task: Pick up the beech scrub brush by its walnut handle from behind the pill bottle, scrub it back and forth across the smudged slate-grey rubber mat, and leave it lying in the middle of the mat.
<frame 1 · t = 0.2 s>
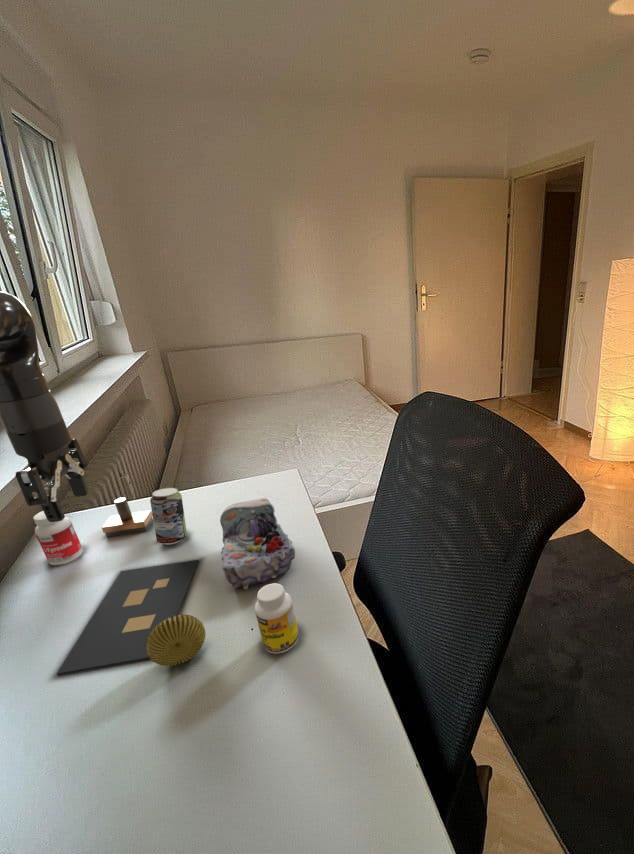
hand: (70, 507, 78), 18 cm above the table, tool pointing down, fingers open, 8 cm apart
supplement bottle: (282, 642, 71), on the table
beverage can: (176, 539, 99), on the table
mat: (139, 610, 79), on the table
cell model: (257, 562, 90), on the table
brush: (130, 529, 104), on the table
sculpture: (184, 659, 69), on the table
pill bottle: (67, 557, 95), on the table
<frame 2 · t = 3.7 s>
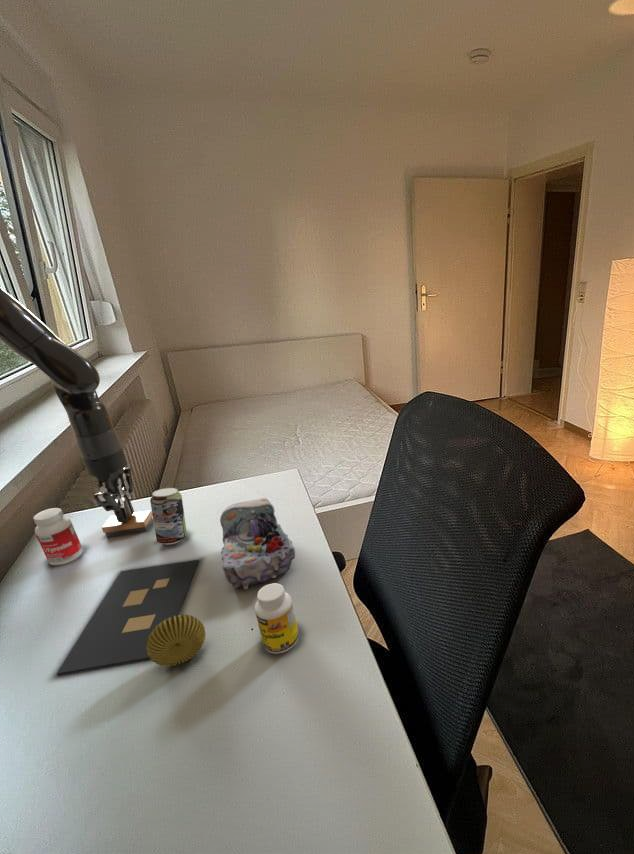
hand: (126, 517, 102), 3 cm above the table, tool pointing down, fingers closed on brush, 2 cm apart
brush: (130, 529, 104), on the table, touching gripper
everything else where it was.
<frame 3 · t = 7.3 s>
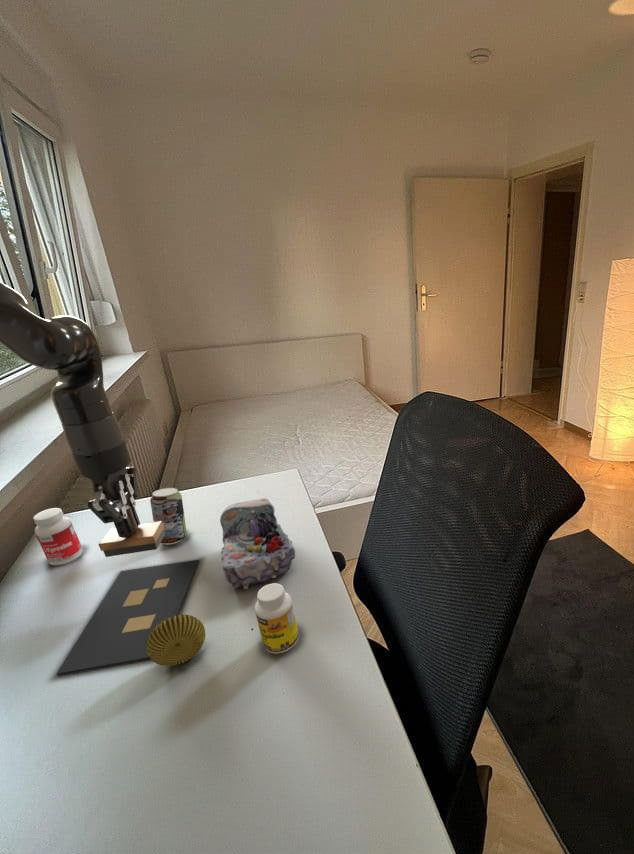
hand: (130, 530, 79), 13 cm above the table, tool pointing down, fingers closed on brush, 2 cm apart
brush: (136, 545, 81), point 10 cm above the table, touching gripper
everything else where it was.
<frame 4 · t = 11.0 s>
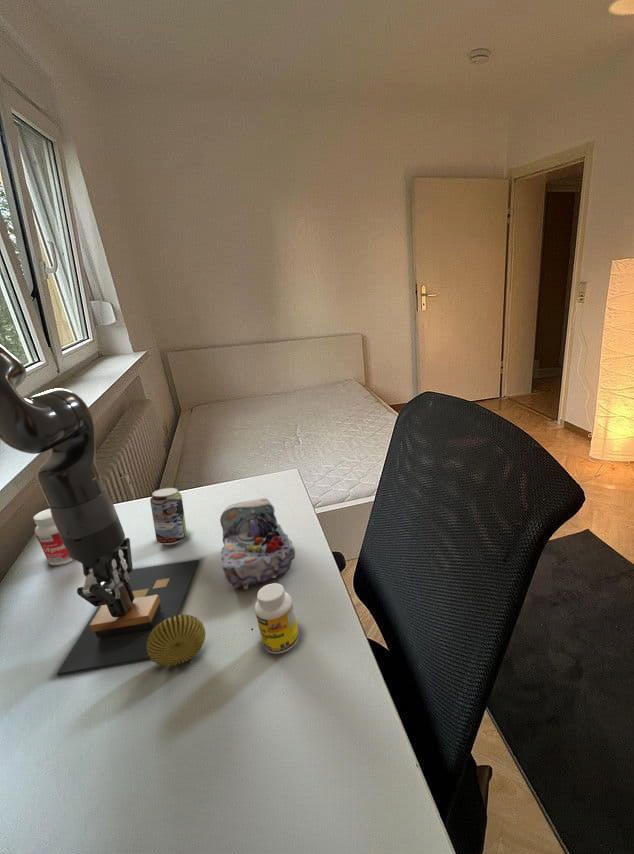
hand: (123, 608, 74), 4 cm above the table, tool pointing down, fingers closed on brush, 2 cm apart
brush: (130, 622, 75), point 1 cm above the table, touching gripper
everything else where it was.
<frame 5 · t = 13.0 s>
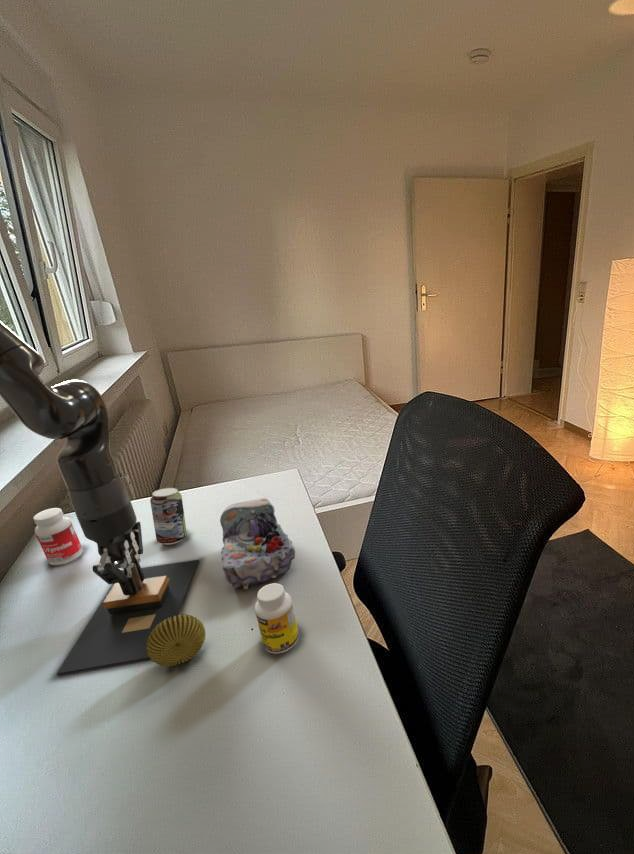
hand: (134, 587, 79), 4 cm above the table, tool pointing down, fingers closed on brush, 2 cm apart
brush: (140, 601, 80), point 1 cm above the table, touching gripper
everything else where it was.
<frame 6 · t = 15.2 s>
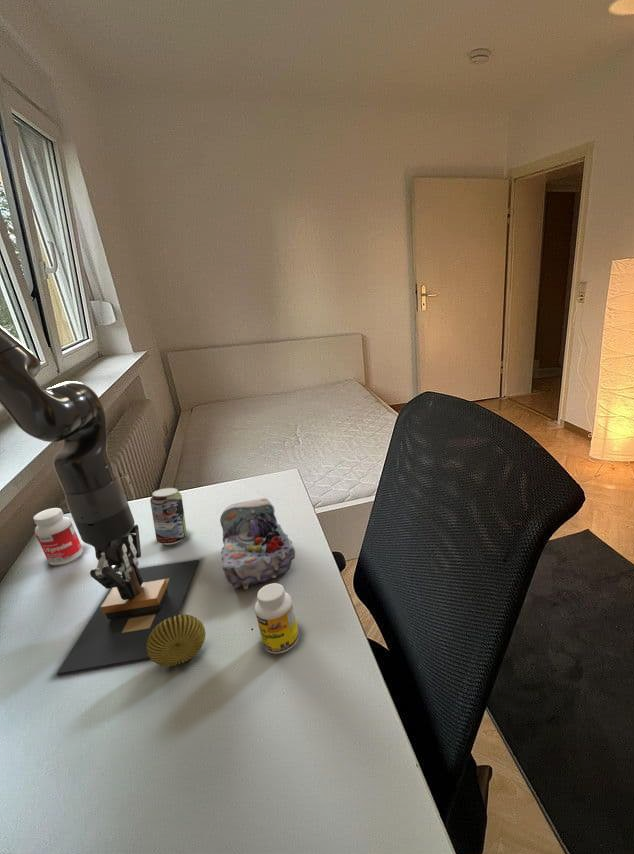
hand: (132, 591, 78), 4 cm above the table, tool pointing down, fingers closed on brush, 2 cm apart
brush: (139, 605, 79), point 1 cm above the table, touching gripper
everything else where it was.
when the fingers open (4 cm above the table, at t = 18.3 s): brush stays where it is, resting on mat.
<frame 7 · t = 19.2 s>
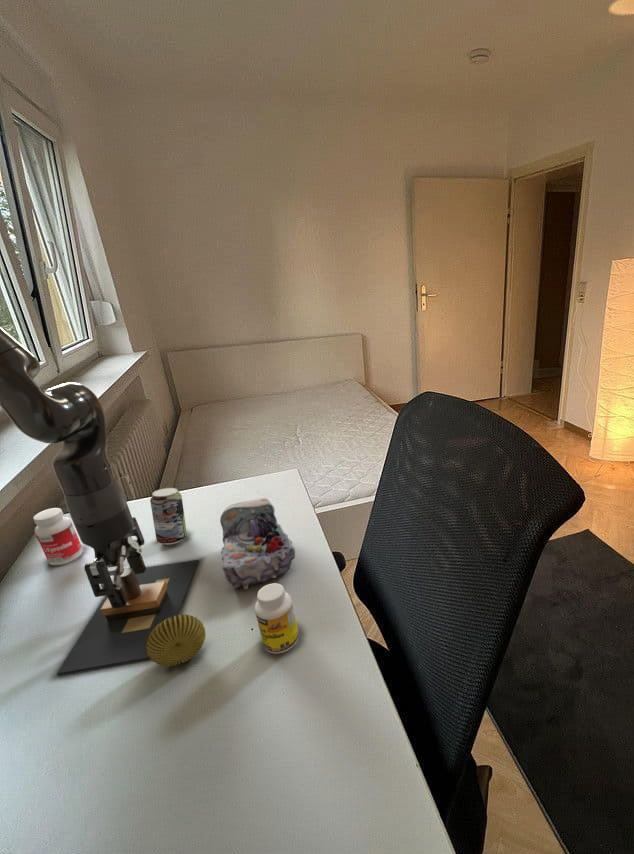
hand: (130, 588, 77), 5 cm above the table, tool pointing down, fingers open, 8 cm apart
brush: (139, 607, 79), point 1 cm above the table, touching mat
everything else where it was.
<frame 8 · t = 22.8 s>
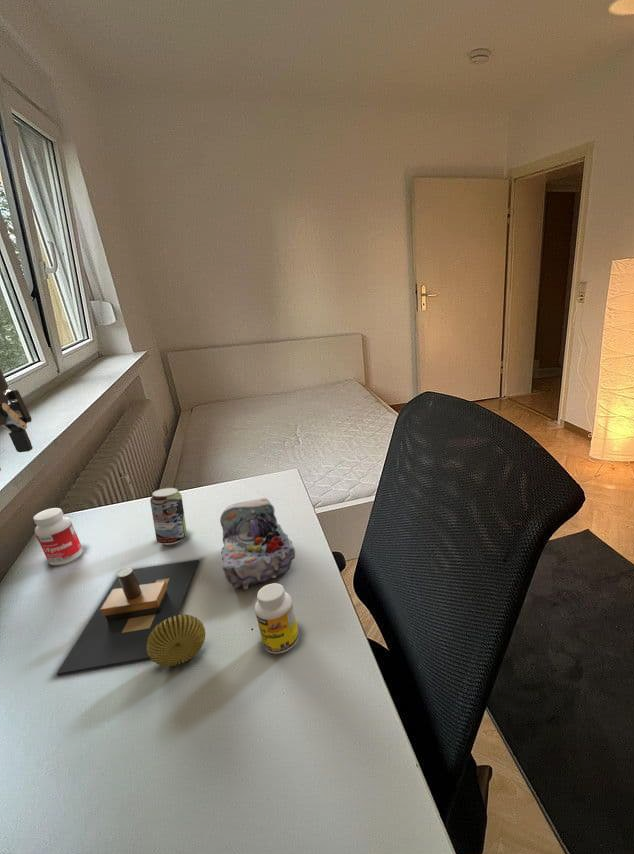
hand: (9, 461, 73), 28 cm above the table, tool pointing down, fingers open, 8 cm apart
nothing on the table moved.
at the end: brush inside the target area on the mat (0.1 cm from its centre), point 0.6 cm above the mat's base; the gripper is holding nothing; brush moved 31.4 cm from its start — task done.
